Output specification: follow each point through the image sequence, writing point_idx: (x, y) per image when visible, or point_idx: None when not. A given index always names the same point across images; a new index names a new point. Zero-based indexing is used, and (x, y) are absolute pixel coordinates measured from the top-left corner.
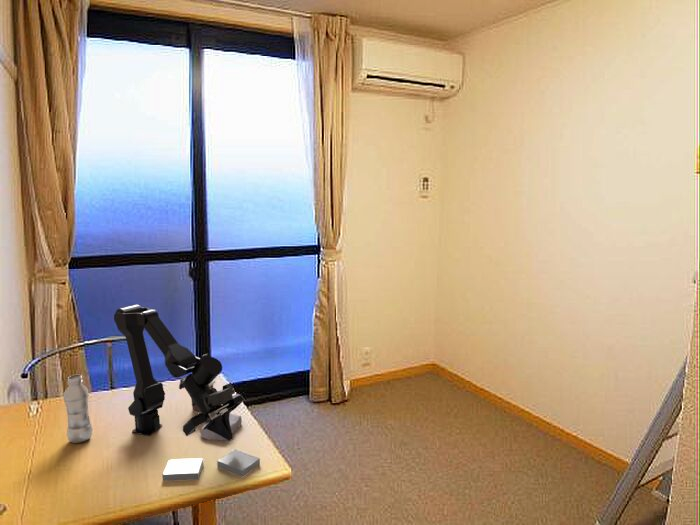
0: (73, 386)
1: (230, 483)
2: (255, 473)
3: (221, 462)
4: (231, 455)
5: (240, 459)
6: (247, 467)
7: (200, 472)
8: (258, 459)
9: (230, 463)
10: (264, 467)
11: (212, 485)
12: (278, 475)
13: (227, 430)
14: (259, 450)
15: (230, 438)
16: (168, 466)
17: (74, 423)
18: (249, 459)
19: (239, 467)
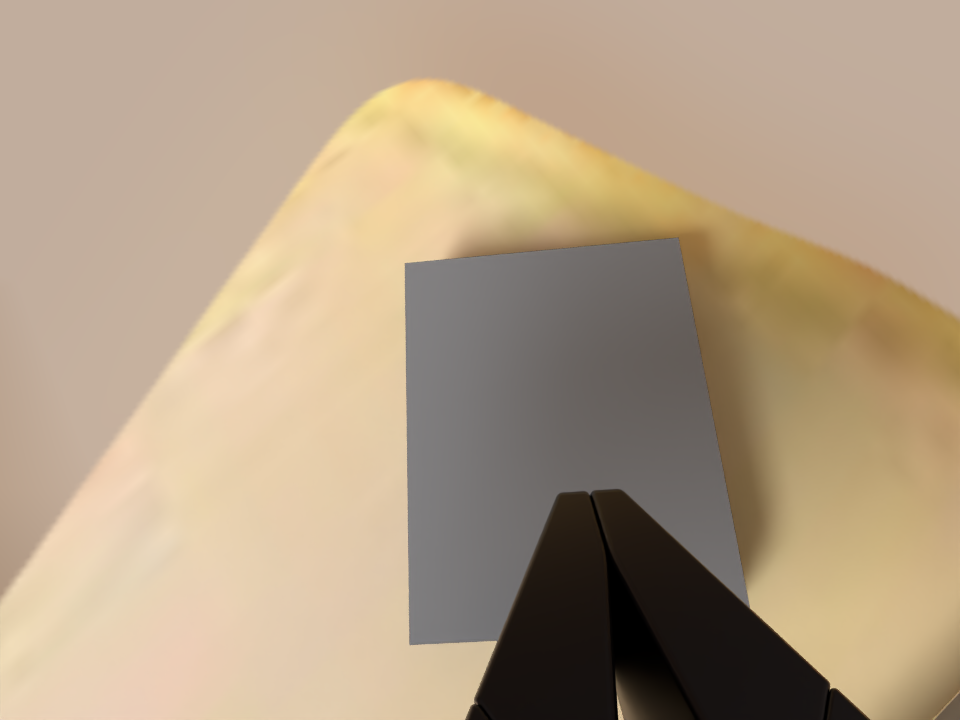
0: None
1: (798, 291)
2: (544, 232)
3: (736, 548)
4: None
5: (543, 404)
6: (598, 247)
7: (946, 710)
8: (426, 262)
9: (676, 435)
10: (430, 236)
11: (953, 400)
12: (454, 87)
13: (653, 625)
14: (219, 475)
15: (628, 498)
16: None
17: None
18: (483, 327)
19: (660, 298)
